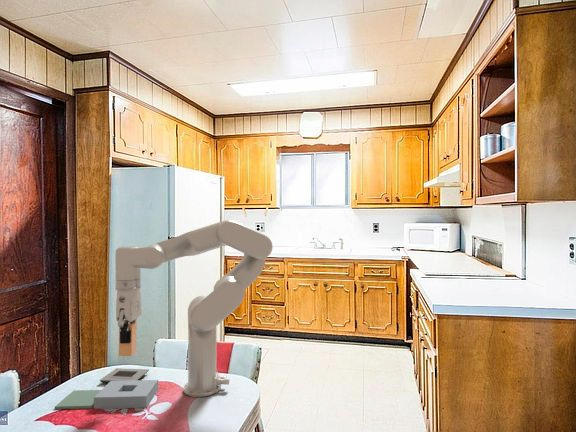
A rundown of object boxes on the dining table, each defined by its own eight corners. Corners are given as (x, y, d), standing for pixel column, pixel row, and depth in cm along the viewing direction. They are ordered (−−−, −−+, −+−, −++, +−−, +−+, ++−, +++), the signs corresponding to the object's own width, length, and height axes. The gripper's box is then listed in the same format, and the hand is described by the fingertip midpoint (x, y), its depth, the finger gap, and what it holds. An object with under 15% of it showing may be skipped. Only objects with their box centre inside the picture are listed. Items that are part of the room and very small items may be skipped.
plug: (136, 351, 123) (136, 318, 123) (131, 356, 119) (132, 321, 119) (123, 351, 123) (124, 318, 123) (118, 356, 119) (119, 321, 119)
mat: (106, 392, 126) (106, 389, 126) (91, 408, 115) (91, 405, 115) (73, 392, 125) (73, 390, 126) (54, 409, 114) (54, 406, 115)
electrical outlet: (149, 375, 141) (149, 368, 141) (135, 387, 131) (135, 380, 131) (116, 373, 142) (116, 367, 142) (99, 385, 132) (99, 379, 132)
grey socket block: (158, 390, 127) (158, 379, 127) (146, 407, 115) (146, 396, 115) (110, 391, 127) (110, 380, 127) (93, 408, 115) (93, 397, 115)
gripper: (130, 288, 113) (130, 349, 113) (148, 280, 130) (148, 332, 130) (104, 289, 113) (105, 349, 113) (126, 280, 130) (126, 333, 129)
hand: (128, 340), depth 121 cm, fingers closed on plug, 4 cm apart
